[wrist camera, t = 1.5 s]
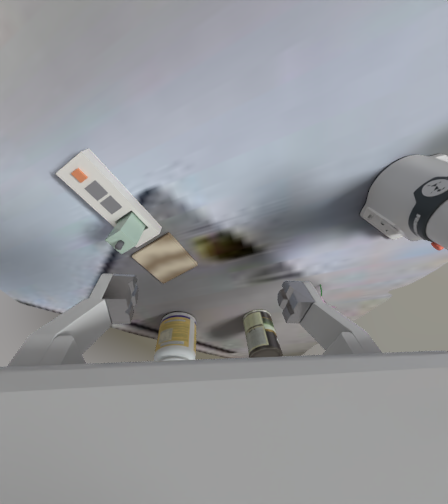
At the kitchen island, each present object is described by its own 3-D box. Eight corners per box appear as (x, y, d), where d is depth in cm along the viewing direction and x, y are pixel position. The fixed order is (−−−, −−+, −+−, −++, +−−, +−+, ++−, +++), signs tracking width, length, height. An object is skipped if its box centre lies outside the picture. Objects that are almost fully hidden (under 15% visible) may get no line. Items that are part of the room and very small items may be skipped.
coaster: (197, 263, 56) (197, 265, 55) (163, 281, 59) (163, 283, 58) (169, 232, 49) (168, 234, 49) (132, 254, 52) (131, 256, 52)
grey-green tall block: (148, 220, 47) (134, 249, 38) (135, 229, 48) (118, 259, 39) (135, 207, 45) (117, 234, 36) (122, 216, 46) (101, 245, 37)
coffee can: (273, 309, 71) (286, 348, 60) (266, 326, 77) (277, 364, 66) (245, 308, 70) (252, 348, 58) (240, 326, 76) (246, 365, 64)
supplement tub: (153, 320, 70) (141, 373, 56) (179, 305, 66) (173, 357, 52) (178, 334, 76) (173, 385, 62) (203, 321, 72) (203, 372, 59)
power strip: (161, 227, 48) (159, 235, 46) (139, 240, 50) (136, 249, 47) (89, 148, 38) (79, 152, 35) (64, 169, 39) (53, 174, 36)
